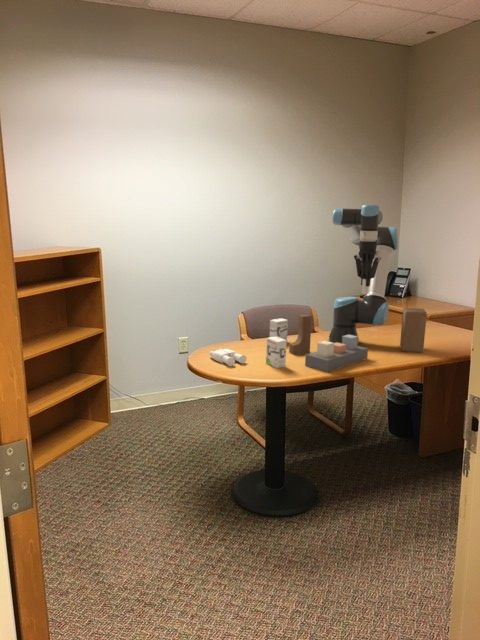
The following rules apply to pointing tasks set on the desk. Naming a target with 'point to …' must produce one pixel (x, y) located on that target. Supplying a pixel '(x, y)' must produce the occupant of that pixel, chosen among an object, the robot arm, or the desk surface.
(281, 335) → the ink box
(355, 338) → the slate-blue plunger
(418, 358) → the desk surface
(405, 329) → the wooden block
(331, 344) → the cream plunger
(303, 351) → the wooden block
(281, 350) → the ink box
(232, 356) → the binoculars
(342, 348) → the salmon pink block
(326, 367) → the gray slotted tray
